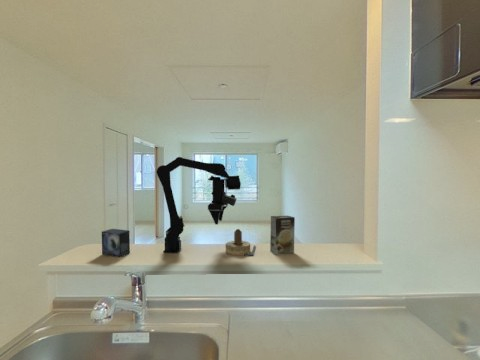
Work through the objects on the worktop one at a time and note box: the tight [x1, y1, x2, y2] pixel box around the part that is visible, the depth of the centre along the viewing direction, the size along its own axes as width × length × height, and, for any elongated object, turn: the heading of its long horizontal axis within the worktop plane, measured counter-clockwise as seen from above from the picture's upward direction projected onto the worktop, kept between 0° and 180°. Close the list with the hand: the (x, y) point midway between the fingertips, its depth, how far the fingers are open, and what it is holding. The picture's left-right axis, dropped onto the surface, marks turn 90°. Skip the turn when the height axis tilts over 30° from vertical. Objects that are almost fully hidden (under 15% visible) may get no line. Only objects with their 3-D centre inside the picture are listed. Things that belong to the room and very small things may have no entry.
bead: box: [225, 240, 251, 256], centre depth 129 cm, size 11×11×4 cm
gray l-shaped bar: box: [243, 245, 256, 257], centre depth 129 cm, size 4×14×1 cm, turn 173°
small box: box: [101, 228, 131, 258], centre depth 124 cm, size 11×6×10 cm, turn 68°
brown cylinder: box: [233, 228, 243, 245], centre depth 129 cm, size 3×3×10 cm
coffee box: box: [269, 215, 296, 256], centre depth 127 cm, size 9×6×16 cm
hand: (218, 222), depth 135 cm, fingers open, 9 cm apart
